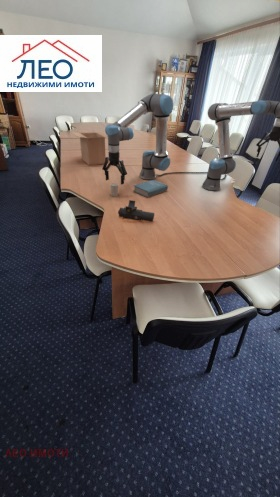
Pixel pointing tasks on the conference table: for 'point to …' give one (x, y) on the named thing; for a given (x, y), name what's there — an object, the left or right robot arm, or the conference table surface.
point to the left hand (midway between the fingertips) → (114, 182)
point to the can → (114, 189)
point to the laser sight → (135, 213)
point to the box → (92, 146)
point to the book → (150, 188)
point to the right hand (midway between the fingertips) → (266, 158)
